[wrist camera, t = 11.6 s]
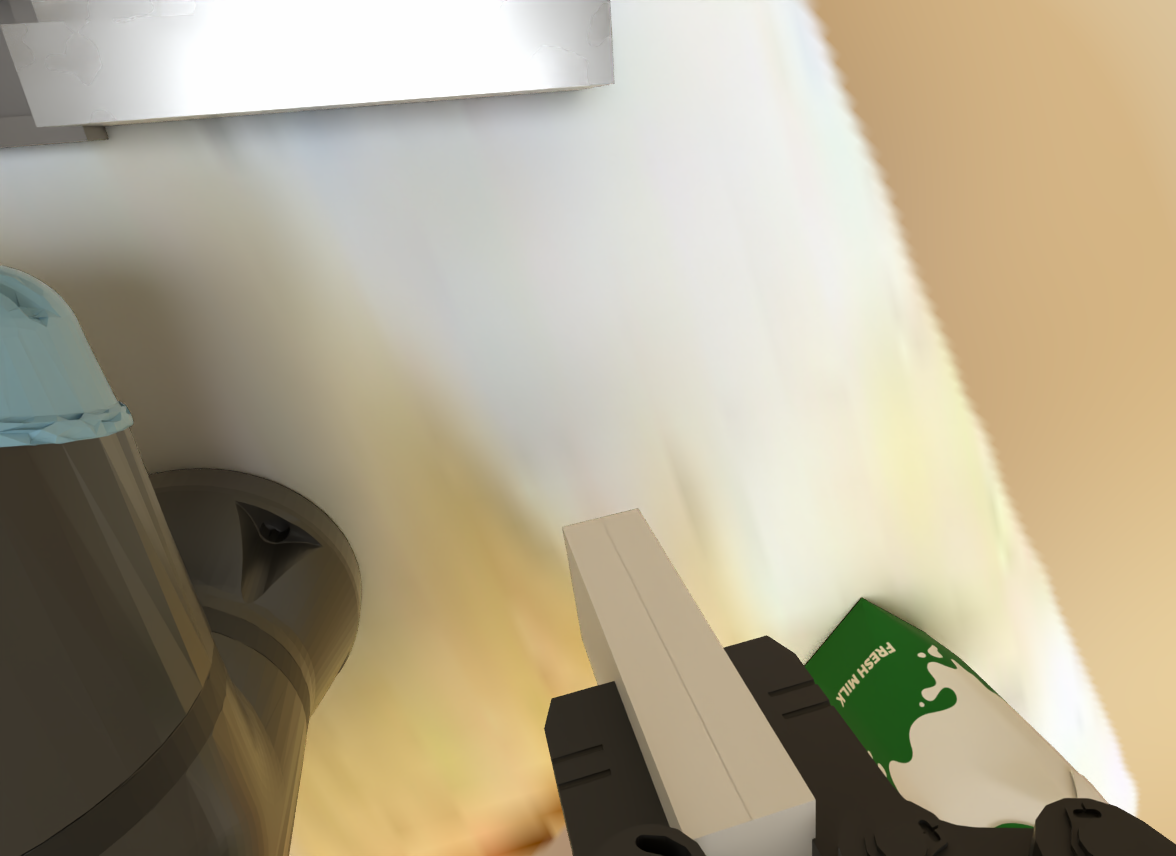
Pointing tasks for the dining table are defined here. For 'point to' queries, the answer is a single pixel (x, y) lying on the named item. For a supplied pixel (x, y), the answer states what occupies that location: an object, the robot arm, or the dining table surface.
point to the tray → (3, 102)
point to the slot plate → (297, 55)
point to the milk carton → (939, 725)
